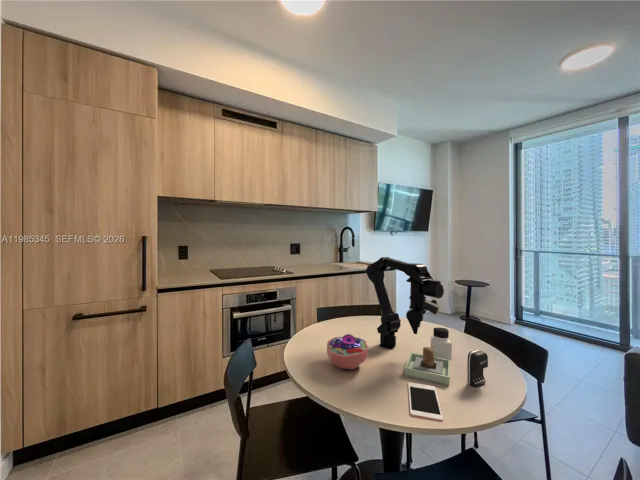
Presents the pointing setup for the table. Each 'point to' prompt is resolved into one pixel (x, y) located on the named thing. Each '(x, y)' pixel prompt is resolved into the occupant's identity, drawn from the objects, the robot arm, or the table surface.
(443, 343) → the medicine bottle
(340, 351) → the cell model
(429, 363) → the peg
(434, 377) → the tray
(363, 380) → the table surface
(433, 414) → the cell phone
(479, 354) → the battery charger
